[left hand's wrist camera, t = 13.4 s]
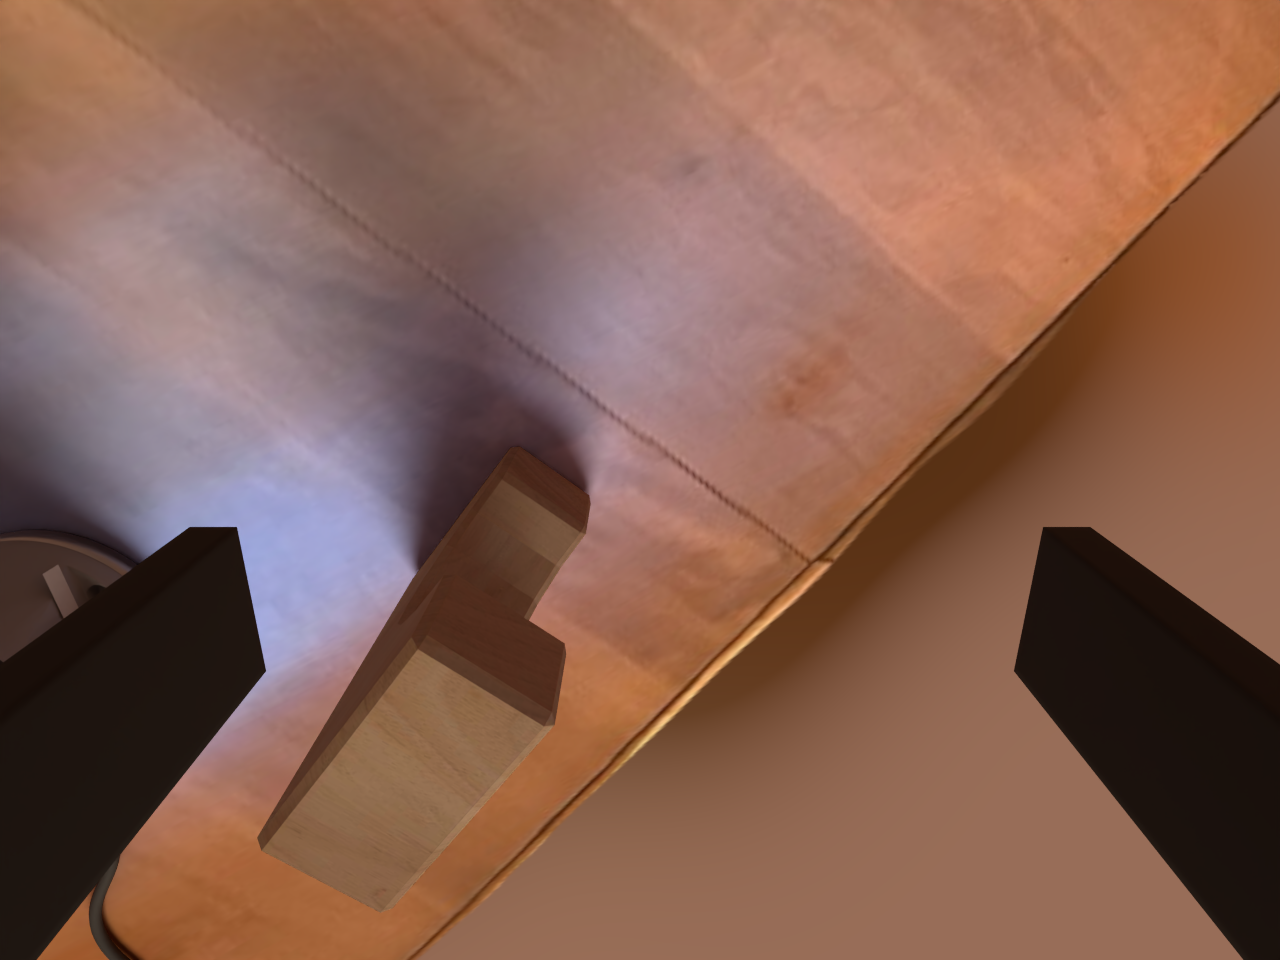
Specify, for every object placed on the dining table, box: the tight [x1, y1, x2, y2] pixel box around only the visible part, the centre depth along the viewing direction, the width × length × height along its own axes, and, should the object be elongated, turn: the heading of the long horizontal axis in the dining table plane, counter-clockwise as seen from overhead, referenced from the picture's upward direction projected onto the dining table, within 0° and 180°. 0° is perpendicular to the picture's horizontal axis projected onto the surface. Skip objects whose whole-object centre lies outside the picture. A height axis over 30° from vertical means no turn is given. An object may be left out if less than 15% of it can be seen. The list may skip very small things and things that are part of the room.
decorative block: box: [257, 446, 591, 913], centre depth 35 cm, size 11×6×20 cm, turn 141°
